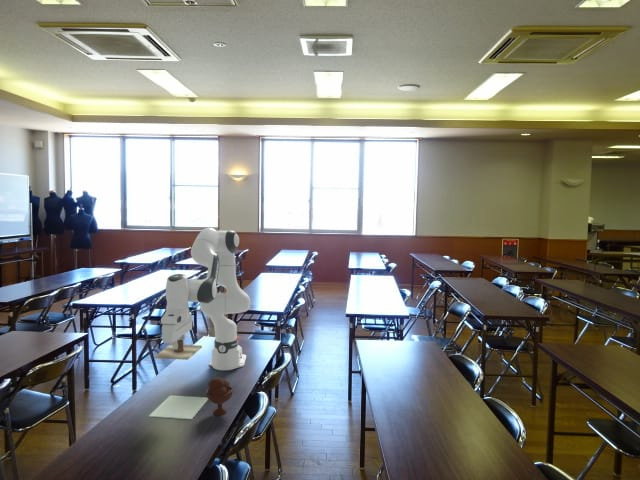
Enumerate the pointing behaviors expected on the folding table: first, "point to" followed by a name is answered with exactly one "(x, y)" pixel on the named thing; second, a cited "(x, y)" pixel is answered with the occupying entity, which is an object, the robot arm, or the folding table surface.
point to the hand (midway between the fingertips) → (178, 346)
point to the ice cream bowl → (219, 394)
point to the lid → (178, 351)
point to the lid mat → (179, 407)
